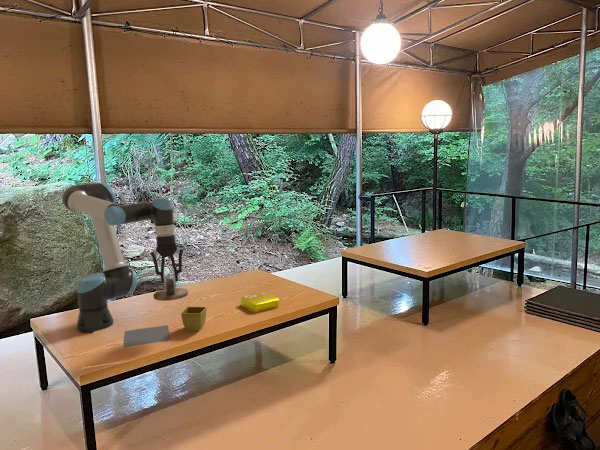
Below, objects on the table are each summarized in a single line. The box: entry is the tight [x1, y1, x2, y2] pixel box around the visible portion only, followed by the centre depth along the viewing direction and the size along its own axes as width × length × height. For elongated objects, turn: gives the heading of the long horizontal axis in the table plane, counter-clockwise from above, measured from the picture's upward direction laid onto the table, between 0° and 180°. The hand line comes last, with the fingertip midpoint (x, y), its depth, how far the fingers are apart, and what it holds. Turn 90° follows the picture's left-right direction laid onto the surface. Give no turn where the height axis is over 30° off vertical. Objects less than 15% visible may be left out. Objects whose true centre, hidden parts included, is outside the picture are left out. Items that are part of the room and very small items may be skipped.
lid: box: [153, 278, 189, 302], centre depth 199 cm, size 14×14×6 cm
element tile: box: [240, 291, 280, 313], centre depth 234 cm, size 15×15×5 cm
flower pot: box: [180, 306, 208, 332], centre depth 205 cm, size 9×9×9 cm
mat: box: [122, 324, 171, 348], centre depth 200 cm, size 18×18×1 cm
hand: (170, 289), depth 199 cm, fingers closed on lid, 3 cm apart
